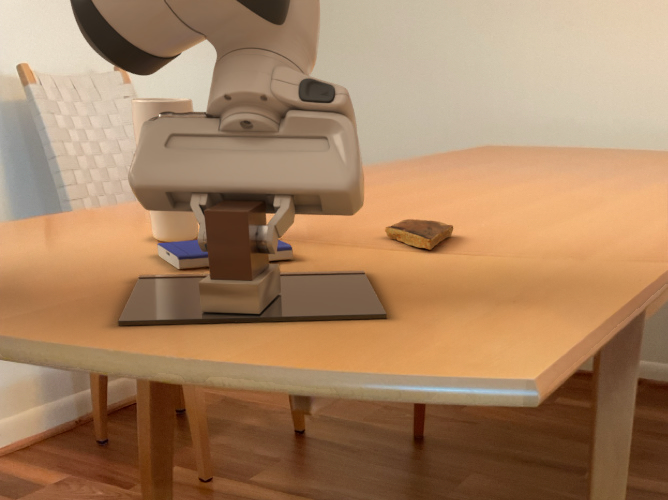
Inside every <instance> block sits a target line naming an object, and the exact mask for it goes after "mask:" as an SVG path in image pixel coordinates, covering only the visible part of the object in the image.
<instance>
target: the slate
mask: <svg viewBox="0 0 668 500" xmlns="http://www.w3.org/2000/svg"><path fill="white" fill-rule="evenodd" d="M209 274H210V273H178V274H177V273H176V274H175V273H173V274H139V275H138V278H137V281H136V283H135V285H134V287H133V288H132V291H131V293H130V295H129V297H128V299H127V301H126V303H125V306H124V308H123V310H122V312H121V313H120V316H119V318H118V319H117V324H118V325H117V326H119V327H123V326H127V327H129V326H159V325H161V326H163V325H165V326H166V325H197V324H230V323H231V324H232V323H233V324H234V323H235V324H236V323H269V322H271V323H272V322H303V321H305V322H306V321H342V320H376V319H377V320H378V319H380V320H382V319H387V318H388V316H387V312H386V310H385V308H384V306H383V305H382V303H381V301H380V299H379V296H378V295H377V293H376V290H375V289H374V287H373V285H372V283H371V282H370V280H369V278H368V276H367V274H366V272H365V270H328V271H327V270H325V271H324V270H323V271H280V282H281V292H280V293H279V294H278V295H277V296H276V297H275V298H274V300H273V301H272V302H271V303H270V304H269V305H268V306H267V307H266V308H265V309H264V310H263V311H262V312H261V313H260V314H242V313H213V312H202V311H201V302H200V292H199V282H200V281H201V280H203V279H204V278H205V277H207V276H208V275H209Z"/></svg>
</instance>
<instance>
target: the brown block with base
mask: <svg viewBox="0 0 668 500" xmlns="http://www.w3.org/2000/svg"><path fill="white" fill-rule="evenodd" d="M204 217H205V227H206V238H207V249H208V260H209V267H208V269H209V273H208V274H209V275H208V276H207V277H205V278H204V279H203V280H201V281H200V282H199V292H200V302H201V311H202V312H213V313H242V314H260V313H261V312H262V311H263V310H264V309H265V308H266V307H267V306H268V305H269V304H270V303H271V302H272V301H273V300H274V298H275V297H276V296H277V295H278V294H279V293H280V292H281V282H280V272H281V266H280V264H279V263H270V261H269V255H268V254H261V253H259V252H258V248H257V246H256V236H257V235H258V234H257V228H258V225H267V224H268V223H267V214H266V207H265V201H255V200H224V201H222V202H220V203H218V204H216V205H214V206H212V207H210V208H208V209H206V210H204Z"/></svg>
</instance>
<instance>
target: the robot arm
mask: <svg viewBox="0 0 668 500" xmlns="http://www.w3.org/2000/svg"><path fill="white" fill-rule="evenodd" d="M69 2H70V6H71V10H72V14H73V17H74V20H75V23H76V25H77V27H78V29H79V31H80V33H81V35H82V36H83V38H84V40H85V41H86V43H87V44H88V45H89V47H90V48H91V49H92V50H93V51H94V52H95V53H96V54H97V55H98V56H99V57H101V58H102V59H103V60H105V61H106V62H107V63H109V64H111V65H112V66H114V67H116V68H117V69H120V70H123V71H125V72H127V73H130V74H131V75H135V76H136V75H137V76H142V77H143V76H145V77H147V76H150V75H154V74H155V73H157V72H158V71H160V70H161V69H162V68H164V67H166V66H167V65H168V64H170V63H171V62H172V61H174V60H175V59H177V58H178V57H179V56H180V55H182V53H184V52H185V51H187V50H190V49H191V48H193V47H195V46H197V45H199V44H200V43H203V42H204V41H206V40H207V42H208V43H210V44H211V45H212V46H213V48H214V50H215V52H216V59H215V62H214V67H213V71H212V77H211V82H210V88H209V93H208V99H207V104H206V111H194V112H185V113H175V112H171V111H166V112H161V113H159V116H157V117H153V118H151V119H149V120H148V121H145V122H144V123H143V125H142V127H141V131H140V136H139V143H138V145H137V147H135V150H134V154H133V156H132V158H131V159H132V160H131V162H130V166H129V170H128V175H127V180H128V184H129V187H130V189H131V191H132V193H133V195H134V197H135V199H136V200H137V201H138V203H139V204H140V205H141V207H143V209H145V210H146V211H148V212H149V211H184V212H194V215H195V217H196V219H197V221H198V236H197V240H198V245H199V247H200V249H201V251H202V252H208V249H207V238H206V227H205V217H204V210H206V209H208V208H210V207H212V206H214V205H216V204H218V203H220V202H222V201H224V200H255V201H265V207H266V215H268V214H269V215H271V214H272V215H273V216H272V217H271V218H270V220H269V221H268V223H267V225H258V228H257V234H258V235H257V236H256V246H257V248H258V252H259V253H261V254H276V253H277V246H278V240H280V239H281V238H282V236H283V235H285V234H286V233H287V231H288V230H289V229H290V228H291V227H292V225H293V224H294V223H295V217H296V215H304V216H305V215H306V216H307V215H308V216H310V215H311V216H342V217H343V216H345V217H347V216H348V217H352V216H354V215H355V214H357V213H358V212H359V211H360V210H361V209H362V208H363V207H364V203H365V172H364V164H363V156H362V151H361V146H360V145H361V144H360V141H359V136H358V126H357V125H358V124H357V118H356V113H355V108H354V104H353V102H352V99H351V96H350V92H349V90H348V89H347V88H346V87H344V86H342V85H340V84H337V83H333V82H329V81H327V80H322V79H320V78H318V77H314V76H311V74H312V72H313V71H314V69H315V66H316V62H317V59H318V50H319V41H320V31H321V3H320V0H69Z"/></svg>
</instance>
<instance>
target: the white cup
mask: <svg viewBox="0 0 668 500" xmlns="http://www.w3.org/2000/svg"><path fill="white" fill-rule="evenodd" d="M130 103H131V117H132V127H133V135H134V141H135V146H136V147H135V148H137V145H138V143H139V136H140V131H141V127H142V125H143V123H144V122H145V121H148V120H149V119H151V118H153V117H157V116H159V113H161V112H166V111H171V112H175V113H185V112H195V111H194V106H193V105H194V104H193V100H192V98H185V97H184V98H183V97H135V98H132V99H131V100H130ZM148 214H149V219H150V227H151V228H150V229H151V235H152V238H154V239H155V240H156V241H157V242H161V243H167V242H178V241H190V240H197V239H198V233H199V223H198V221H197V219H196V217H195V215H194V212H184V211H149V210H148Z"/></svg>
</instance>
